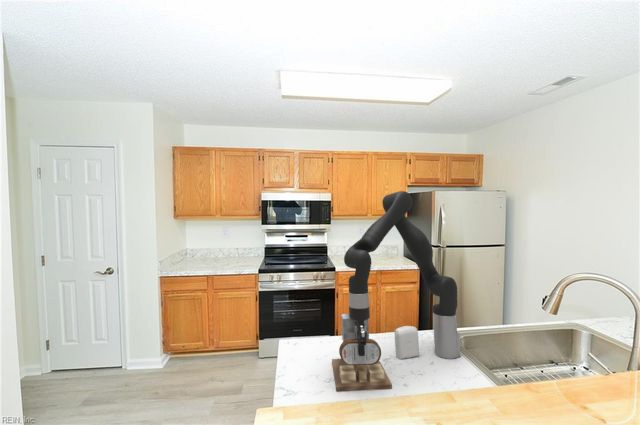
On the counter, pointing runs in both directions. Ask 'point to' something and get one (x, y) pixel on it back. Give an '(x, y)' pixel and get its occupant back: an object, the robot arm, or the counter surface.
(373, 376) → the display stand
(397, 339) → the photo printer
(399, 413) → the counter surface
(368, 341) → the tin
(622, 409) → the counter surface
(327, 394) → the counter surface
